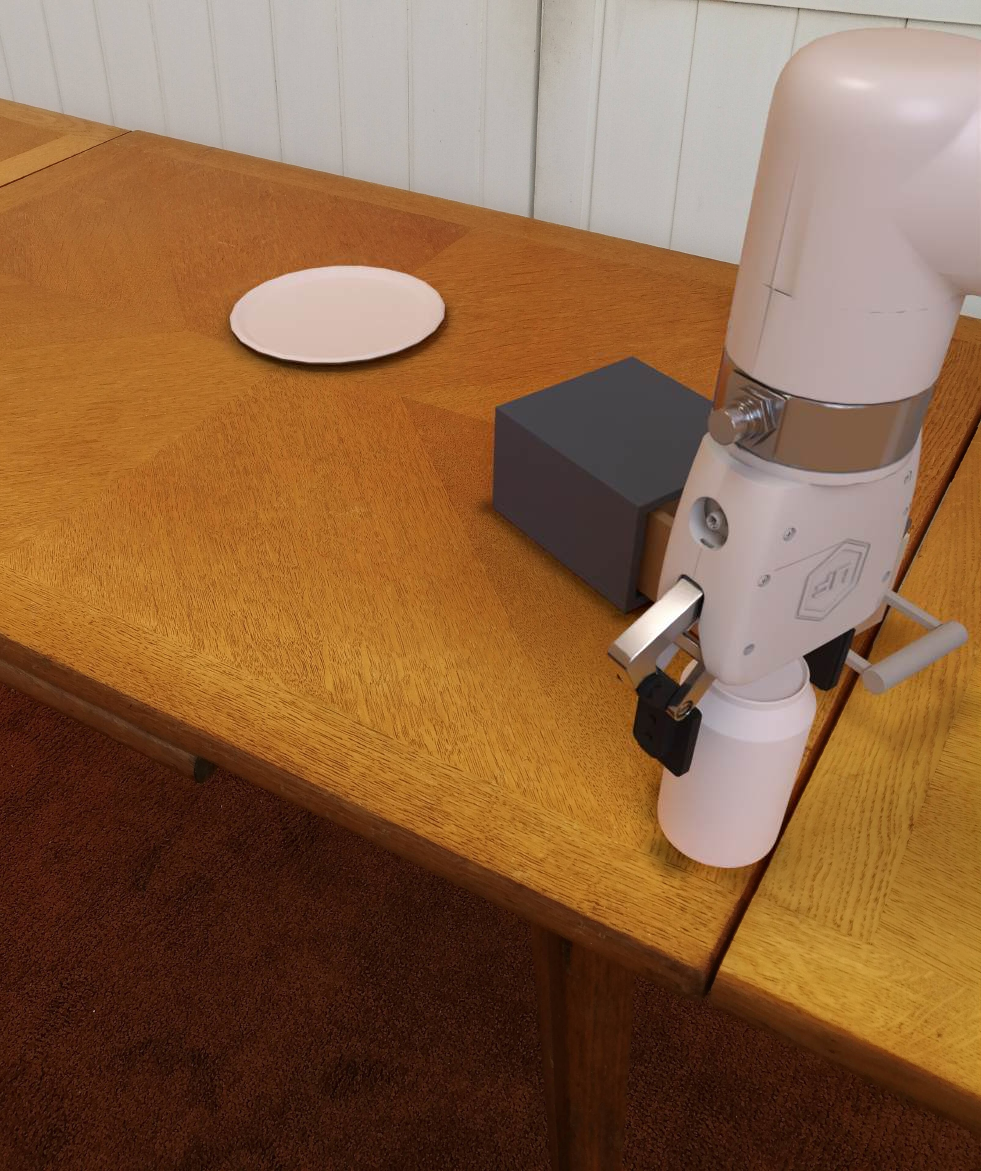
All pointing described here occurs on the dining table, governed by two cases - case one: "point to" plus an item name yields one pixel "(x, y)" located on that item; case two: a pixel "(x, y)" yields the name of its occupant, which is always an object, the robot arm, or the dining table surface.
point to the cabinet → (597, 467)
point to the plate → (337, 315)
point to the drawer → (873, 677)
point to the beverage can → (739, 768)
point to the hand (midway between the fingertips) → (735, 712)
